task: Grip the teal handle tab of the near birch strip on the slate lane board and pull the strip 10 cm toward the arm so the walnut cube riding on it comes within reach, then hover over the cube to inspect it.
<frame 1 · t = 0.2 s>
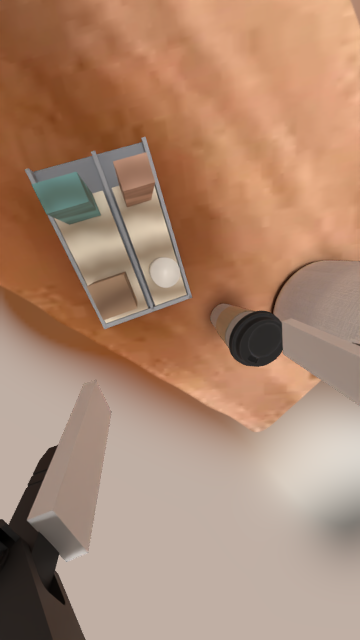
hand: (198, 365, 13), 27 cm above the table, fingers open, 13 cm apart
strip b: (155, 246, 30), point 6 cm above the table, slide at 0.0 cm, touching stoneware cylinder
stoneware cylinder: (161, 270, 34), point 3 cm above the table, touching strip b
walnut cube: (116, 291, 34), point 3 cm above the table, touching strip a
coffee cup: (222, 315, 43), on the table
planter: (308, 306, 47), on the table
strip a: (101, 264, 29), point 6 cm above the table, slide at 0.0 cm, touching walnut cube
lane board: (123, 245, 34), on the table
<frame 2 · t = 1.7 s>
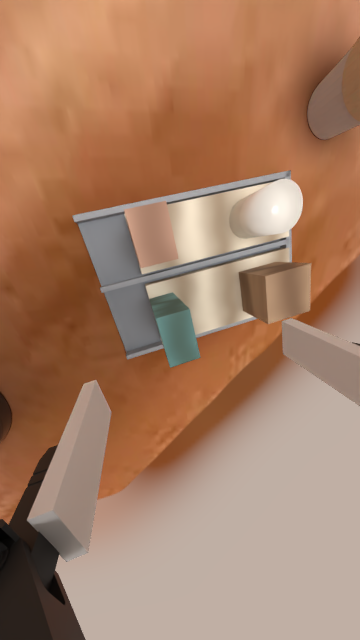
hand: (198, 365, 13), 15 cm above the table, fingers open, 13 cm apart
strip b: (226, 222, 20), point 6 cm above the table, slide at 0.0 cm, touching stoneware cylinder
stoneware cylinder: (246, 219, 23), point 3 cm above the table, touching strip b
walnut cube: (259, 287, 26), point 3 cm above the table, touching strip a
coffee cup: (325, 110, 24), on the table
strip a: (236, 301, 23), point 6 cm above the table, slide at 0.0 cm, touching walnut cube
lane board: (199, 269, 27), on the table
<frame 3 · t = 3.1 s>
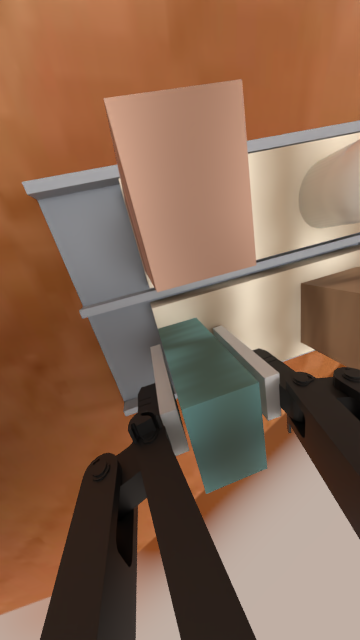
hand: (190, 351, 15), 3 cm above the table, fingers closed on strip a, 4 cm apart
strip b: (313, 192, 10), point 6 cm above the table, slide at 0.0 cm, touching stoneware cylinder
stoneware cylinder: (325, 194, 14), point 3 cm above the table, touching strip b
walnut cube: (328, 305, 17), point 3 cm above the table, touching strip a
strip a: (306, 335, 13), point 6 cm above the table, slide at 0.3 cm, touching gripper, walnut cube
lane board: (236, 277, 17), on the table
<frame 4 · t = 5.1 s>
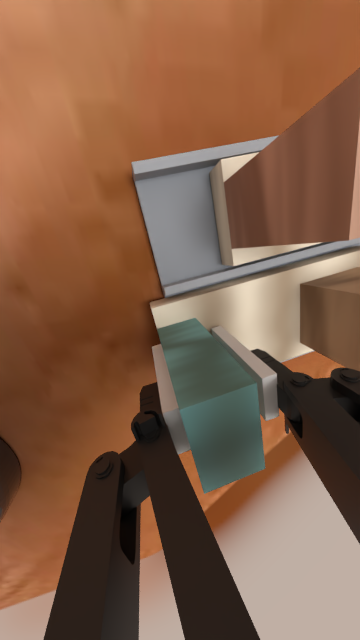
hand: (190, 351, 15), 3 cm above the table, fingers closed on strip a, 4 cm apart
walnut cube: (327, 306, 17), point 3 cm above the table, touching strip a
strip a: (305, 336, 13), point 6 cm above the table, slide at 6.6 cm, touching gripper, walnut cube
lane board: (296, 261, 18), on the table
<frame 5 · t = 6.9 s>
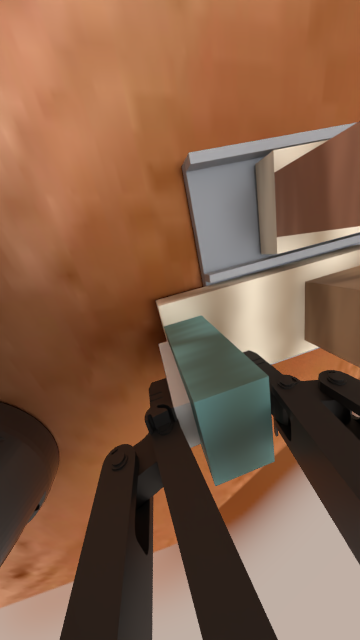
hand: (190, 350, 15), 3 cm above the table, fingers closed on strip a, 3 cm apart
walnut cube: (331, 303, 17), point 3 cm above the table, touching strip a
strip a: (310, 333, 14), point 6 cm above the table, slide at 9.7 cm, touching gripper, walnut cube
lane board: (327, 252, 19), on the table
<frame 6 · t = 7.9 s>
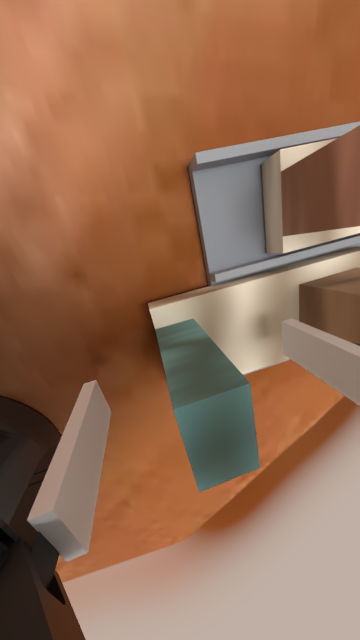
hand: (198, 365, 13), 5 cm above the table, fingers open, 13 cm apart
walnut cube: (326, 306, 17), point 3 cm above the table, touching strip a
strip a: (303, 336, 13), point 6 cm above the table, slide at 10.8 cm, touching walnut cube
lane board: (333, 251, 19), on the table
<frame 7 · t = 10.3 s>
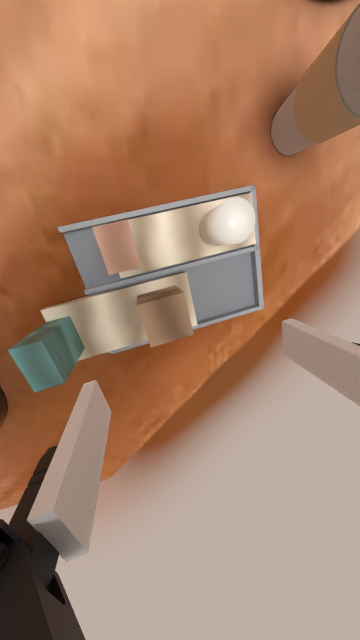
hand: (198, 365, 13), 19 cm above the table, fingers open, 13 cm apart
strip b: (192, 232, 22), point 6 cm above the table, slide at 0.0 cm, touching stoneware cylinder
stoneware cylinder: (214, 228, 26), point 3 cm above the table, touching strip b
walnut cube: (161, 308, 28), point 3 cm above the table, touching strip a
coffee cup: (288, 130, 27), on the table
strip a: (125, 325, 24), point 6 cm above the table, slide at 10.8 cm, touching walnut cube
lane board: (175, 273, 29), on the table
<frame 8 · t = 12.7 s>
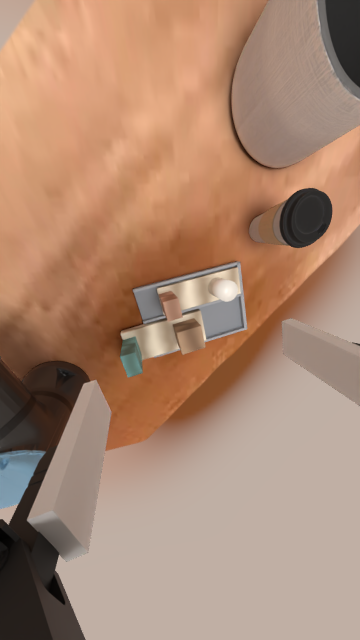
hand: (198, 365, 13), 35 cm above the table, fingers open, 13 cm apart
strip b: (205, 293, 42), point 6 cm above the table, slide at 0.0 cm, touching stoneware cylinder
stoneware cylinder: (216, 286, 45), point 3 cm above the table, touching strip b
walnut cube: (185, 331, 47), point 3 cm above the table, touching strip a
coffee cup: (259, 229, 46), on the table
planter: (277, 107, 39), on the table
strip a: (167, 342, 44), point 6 cm above the table, slide at 10.8 cm, touching walnut cube
lane board: (193, 309, 49), on the table
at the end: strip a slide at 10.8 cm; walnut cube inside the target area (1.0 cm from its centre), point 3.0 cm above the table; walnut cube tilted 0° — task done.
